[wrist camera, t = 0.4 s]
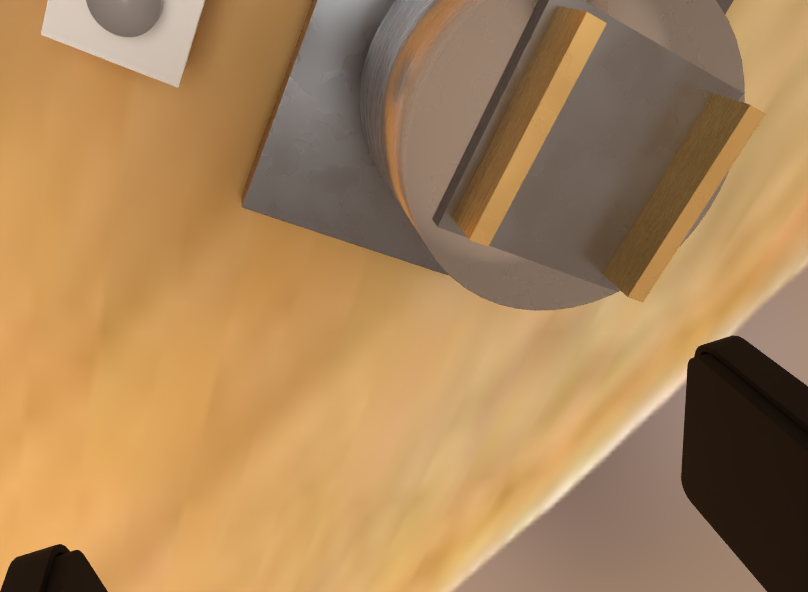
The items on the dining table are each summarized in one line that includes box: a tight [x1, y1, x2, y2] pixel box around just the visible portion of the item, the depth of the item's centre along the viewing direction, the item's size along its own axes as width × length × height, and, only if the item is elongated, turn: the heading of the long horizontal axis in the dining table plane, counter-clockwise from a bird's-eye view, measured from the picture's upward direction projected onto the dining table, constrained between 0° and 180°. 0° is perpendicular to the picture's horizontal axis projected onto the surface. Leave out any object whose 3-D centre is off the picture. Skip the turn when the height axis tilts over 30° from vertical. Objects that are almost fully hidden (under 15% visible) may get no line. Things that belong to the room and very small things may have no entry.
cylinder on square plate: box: [242, 0, 765, 310], centre depth 29 cm, size 20×20×14 cm
